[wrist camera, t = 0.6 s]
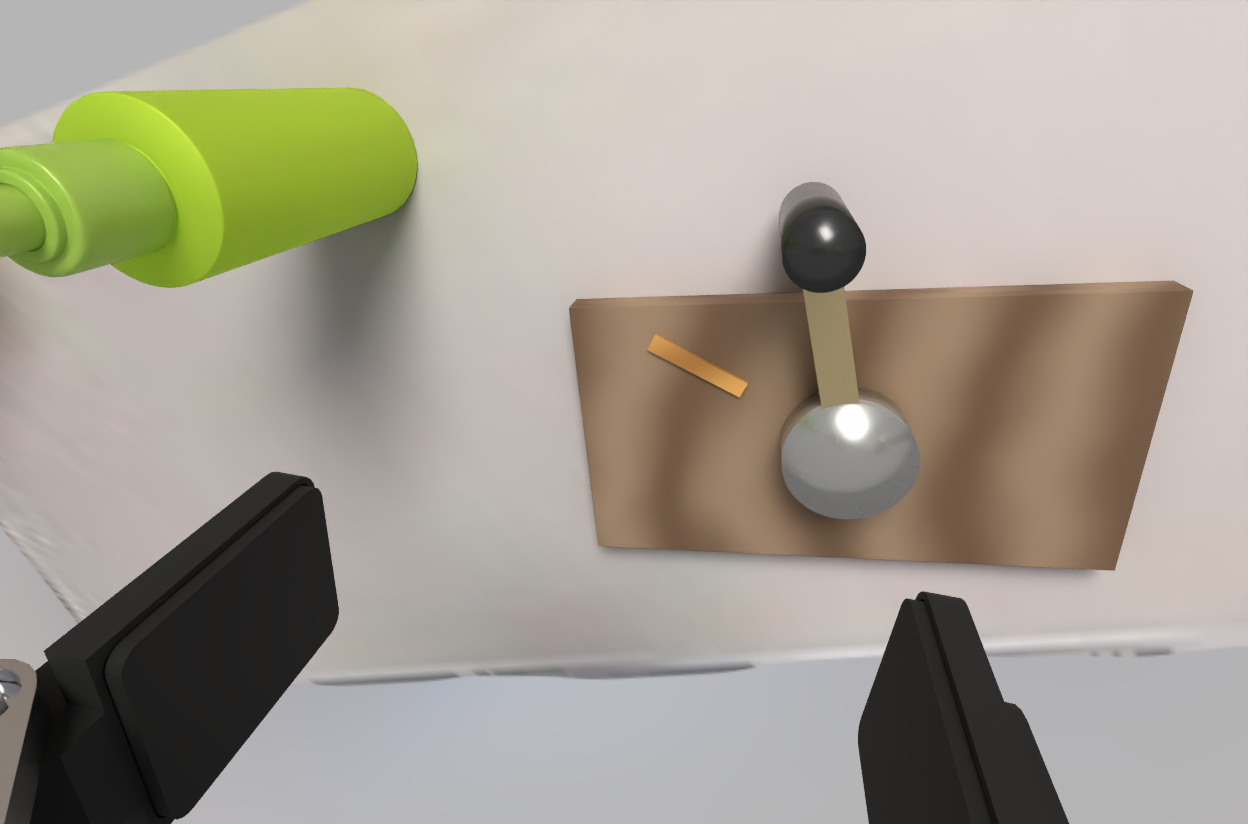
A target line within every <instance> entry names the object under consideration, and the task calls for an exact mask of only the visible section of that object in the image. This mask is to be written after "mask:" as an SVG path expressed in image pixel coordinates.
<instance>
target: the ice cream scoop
mask: <svg viewBox="0 0 1248 824" xmlns="http://www.w3.org/2000/svg"><path fill="white" fill-rule="evenodd" d="M779 222H780V234H781V246H782V258H783V265H784V268H785V271H786V273H787V275H788V276H789V278H790V279H791V280H792V281H793V282H794V283H795V284H796V285H797V286H799V287H800V288H802V289H803V294H804V300H805V306H806V313H807V319H808V325H809V332H810V338H811V344H812V351H813V357H814V363H815V369H816V376H817V382H818V388H819V392H818V393H816V394H814V395H812V396H810V397H809V398H807V399H806V400H804V401H803V402H802V403H801V404H799V405H798V406H797V407H796V408H795V409H794V410H793V412H792V413H791V414H790V416H789V417H788V419H787V421H786V423H785V425H784V428H783V431H782V436H781V465H782V473H783V477H784V480H785V483H786V485H787V487H788V489H789V490H790V492H791V493H792V494H793V496H794V497H795V498H796V499H797V500H798V501H799V502H800V503H801V504H803V505H804V506H805V507H807V508H808V509H810V510H812V511H814V512H816V513H818V514H821V515H824V516H827V517H831V518H837V519H861V518H867V517H870V516H874V515H877V514H879V513H882V512H884V511H886V510H888V509H890V508H891V507H893V506H894V505H896V504H897V503H898V502H900V501H901V500H902V499H903V498H904V497H905V496H906V495H907V494H908V492H909V491H910V490H911V488H912V487H913V485H914V483H915V481H916V479H917V476H918V472H919V467H920V453H919V448H918V445H917V442H916V440H915V437H914V435H913V432H912V430H911V427H910V425H909V423H908V420H907V418H906V417H905V415H904V413H903V412H902V410H901V409H900V408H899V407H898V406H897V405H896V404H895V403H894V402H893V401H892V400H890V399H889V398H887V397H886V396H884V395H882V394H880V393H878V392H876V391H873V390H870V389H866V388H861V387H857V380H856V372H855V365H854V357H853V350H852V342H851V335H850V327H849V320H848V312H847V305H846V298H845V290H844V286H846V285H847V284H848V283H850V282H851V281H852V280H853V279H854V278H855V277H856V276H857V274H858V273H859V271H860V270H861V268H862V266H863V263H864V260H865V256H866V243H865V239H864V236H863V234H862V232H861V230H860V228H859V227H858V225H857V223H856V222H855V220H854V218H853V217H852V215H851V214H850V212H849V210H848V209H847V207H846V206H845V204H844V202H843V201H842V199H841V198H840V196H839V195H838V193H837V192H836V191H835V190H834V189H833V188H832V187H830V186H828V185H826V184H824V183H820V182H809V183H805V184H802V185H799V186H797V187H796V188H794V189H793V190H792V191H791V192H790V193H789V194H788V195H787V196H786V197H785V199H784V201H783V202H782V205H781V208H780V212H779Z"/></svg>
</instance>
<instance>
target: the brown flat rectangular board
mask: <svg viewBox="0 0 1248 824" xmlns="http://www.w3.org/2000/svg"><path fill="white" fill-rule="evenodd" d="M1192 294H1193V290H1191V289H1189V288H1187V287H1185V286H1183V285H1181V284H1179V283H1177V282H1175V281H1152V282H1120V283H1088V284H1056V285H1023V286H991V287H959V288H927V289H895V290H862V291H845V298H846V305H847V312H848V320H849V327H850V335H851V342H852V350H853V357H854V365H855V372H856V380H857V387H861V388H866V389H870V390H873V391H876V392H878V393H880V394H882V395H884V396H886V397H887V398H889V399H890V400H892V401H893V402H894V403H895V404H896V405H897V406H898V407H899V408H900V409H901V410H902V412H903V413H904V415H905V417H906V418H907V420H908V423H909V425H910V427H911V430H912V432H913V435H914V437H915V440H916V442H917V445H918V448H919V453H920V467H919V472H918V476H917V479H916V481H915V483H914V485H913V487H912V488H911V490H910V491H909V492H908V494H907V495H906V496H905V497H904V498H903V499H902V500H901V501H900V502H898V503H897V504H896V505H894V506H893V507H891V508H890V509H888V510H886V511H884V512H882V513H879V514H877V515H874V516H870V517H867V518H861V519H837V518H831V517H827V516H824V515H821V514H818V513H816V512H814V511H812V510H810V509H808V508H807V507H805V506H804V505H803V504H801V503H800V502H799V501H798V500H797V499H796V498H795V497H794V496H793V494H792V493H791V492H790V490H789V489H788V487H787V485H786V483H785V480H784V477H783V473H782V465H781V436H782V431H783V428H784V425H785V423H786V421H787V419H788V417H789V416H790V414H791V413H792V412H793V410H794V409H795V408H796V407H797V406H798V405H799V404H801V403H802V402H803V401H804V400H806V399H807V398H809V397H810V396H812V395H814V394H816V393H818V392H819V388H818V382H817V376H816V369H815V363H814V357H813V351H812V344H811V338H810V332H809V325H808V319H807V313H806V306H805V300H804V294H803V292H798V293H766V294H734V295H702V296H669V297H637V298H605V299H577V300H576V301H575V302H574V303H573V304H572V305H571V307H570V308H569V313H570V321H571V329H572V337H573V345H574V353H575V361H576V369H577V377H578V385H579V393H580V401H581V409H582V417H583V425H584V433H585V441H586V449H587V457H588V465H589V473H590V481H591V489H592V497H593V505H594V513H595V521H596V529H597V537H598V545H599V546H610V547H631V548H652V549H673V550H694V551H715V552H736V553H757V554H778V555H799V556H820V557H841V558H862V559H883V560H904V561H925V562H946V563H967V564H988V565H1009V566H1030V567H1051V568H1072V569H1093V570H1114V571H1115V567H1116V564H1117V560H1118V557H1119V553H1120V550H1121V546H1122V542H1123V539H1124V535H1125V532H1126V528H1127V525H1128V521H1129V518H1130V514H1131V511H1132V507H1133V503H1134V500H1135V496H1136V493H1137V489H1138V486H1139V482H1140V479H1141V475H1142V471H1143V468H1144V464H1145V461H1146V457H1147V454H1148V450H1149V447H1150V443H1151V440H1152V436H1153V432H1154V429H1155V425H1156V422H1157V418H1158V415H1159V411H1160V408H1161V404H1162V401H1163V397H1164V393H1165V390H1166V386H1167V383H1168V379H1169V376H1170V372H1171V369H1172V365H1173V362H1174V358H1175V354H1176V351H1177V347H1178V344H1179V340H1180V337H1181V333H1182V330H1183V326H1184V323H1185V319H1186V315H1187V312H1188V308H1189V305H1190V301H1191V298H1192Z"/></svg>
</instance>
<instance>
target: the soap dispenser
mask: <svg viewBox="0 0 1248 824" xmlns="http://www.w3.org/2000/svg"><path fill="white" fill-rule="evenodd" d="M416 175H417V157H416V150H415V146H414V143H413V140H412V137H411V135H410V132H409V130H408V128H407V126H406V125H405V123H404V121H403V120H402V118H401V117H400V116H399V114H398V113H397V112H396V111H395V110H394V109H393V108H392V107H391V106H390V105H389V104H388V103H387V102H385V101H384V100H383V99H381V98H380V97H378V96H377V95H375V94H373V93H371V92H368V91H365V90H362V89H358V88H295V89H234V90H173V91H112V92H96V93H92V94H88V95H85V96H83V97H81V98H79V99H77V100H76V101H74V102H73V103H72V104H71V105H69V106H68V107H67V109H66V110H65V111H64V112H63V114H62V115H61V117H60V119H59V121H58V123H57V125H56V128H55V131H54V135H53V140H52V143H50V144H39V145H27V146H16V147H6V148H0V258H1V257H5V256H8V257H10V258H11V259H12V260H13V261H15V262H16V263H17V264H19V265H20V266H22V267H24V268H26V269H28V270H30V271H32V272H34V273H37V274H40V275H43V276H48V277H63V276H68V275H73V274H76V273H80V272H84V271H87V270H91V269H94V268H98V267H101V266H105V265H109V264H111V265H112V266H114V267H115V268H116V269H118V270H119V271H121V272H122V273H124V274H126V275H128V276H130V277H132V278H134V279H136V280H138V281H140V282H143V283H146V284H149V285H153V286H158V287H168V288H173V287H182V286H186V285H190V284H193V283H195V282H198V281H201V280H204V279H207V278H210V277H212V276H215V275H218V274H221V273H224V272H227V271H229V270H232V269H235V268H238V267H241V266H244V265H246V264H249V263H252V262H255V261H258V260H261V259H263V258H266V257H269V256H272V255H275V254H278V253H280V252H283V251H286V250H289V249H292V248H295V247H297V246H300V245H303V244H306V243H309V242H312V241H315V240H317V239H320V238H323V237H326V236H329V235H332V234H334V233H337V232H340V231H343V230H346V229H349V228H351V227H354V226H357V225H360V224H363V223H366V222H368V221H371V220H374V219H377V218H380V217H383V216H385V215H388V214H390V213H392V212H394V211H396V210H397V209H398V208H400V207H401V206H402V205H403V204H404V203H405V201H406V200H407V199H408V197H409V196H410V194H411V192H412V190H413V187H414V184H415V180H416Z"/></svg>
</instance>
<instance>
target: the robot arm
mask: <svg viewBox="0 0 1248 824" xmlns="http://www.w3.org/2000/svg"><path fill="white" fill-rule="evenodd" d="M338 615H339V607H338V600H337V593H336V587H335V580H334V573H333V566H332V560H331V553H330V546H329V539H328V533H327V526H326V519H325V512H324V506H323V499H322V494H321V492H320V490H319V489H317V488H315V487H314V484H313V482H312V481H311V479H309V478H307V477H303V476H297V475H292V474H286V473H281V472H271V473H270V474H268V475H266V476H265V477H264V478H262V479H261V480H260V481H259V482H257V483H256V484H255V485H254V486H252V487H251V488H250V489H248V490H247V491H246V492H245V493H243V494H242V495H241V496H240V497H238V498H237V499H236V500H235V501H233V502H232V503H231V504H229V505H228V506H227V507H226V508H224V509H223V510H222V511H221V512H219V513H218V514H217V515H216V516H214V517H213V518H212V519H210V520H209V521H208V522H207V523H205V524H204V525H203V526H202V527H200V528H199V529H198V530H197V531H195V532H194V533H193V534H191V535H190V536H189V537H188V538H186V539H185V540H184V541H183V542H181V543H180V544H179V545H177V546H176V547H175V548H174V549H172V550H171V551H170V552H169V553H167V554H166V555H165V556H164V557H162V558H161V559H160V560H158V561H157V562H156V563H155V564H153V565H152V566H151V567H150V568H148V569H147V570H146V571H145V572H143V573H142V574H141V575H139V576H138V577H137V578H136V579H134V580H133V581H132V582H131V583H129V584H128V585H127V586H126V587H124V588H123V589H122V590H120V591H119V592H118V593H117V594H115V595H114V596H113V597H112V598H110V599H109V600H108V601H107V602H105V603H104V604H103V605H101V606H100V607H99V608H98V609H96V610H95V611H94V612H93V613H91V614H90V615H89V616H88V617H86V618H85V619H84V620H82V621H81V622H80V623H79V624H77V625H76V626H75V627H74V628H72V629H71V630H70V631H68V632H67V633H66V634H65V635H63V636H62V637H61V638H60V639H58V640H57V641H56V642H55V643H53V644H52V645H51V646H50V647H48V648H47V649H46V650H45V651H44V652H45V655H46V657H47V659H48V661H47V662H46V663H45V664H43V665H42V666H41V667H40V668H38V669H37V670H36V671H34V669H33V668H32V667H31V666H30V665H29V664H27V663H24V662H21V661H19V660H16V659H0V824H171V823H172V822H173V820H174V819H179V818H182V817H184V816H185V815H187V814H188V813H189V812H190V811H191V810H192V808H194V806H195V805H196V804H197V802H198V801H199V800H200V799H201V797H202V796H203V795H204V793H205V792H206V791H207V790H208V789H209V787H210V786H211V785H212V783H213V782H214V781H215V779H216V778H217V777H218V776H219V775H220V773H221V772H222V771H223V769H224V768H225V767H226V766H227V764H228V763H229V762H230V761H231V759H232V758H233V756H235V754H236V753H237V752H238V750H239V749H240V748H241V746H242V745H243V744H244V743H245V742H246V740H247V739H248V738H249V737H250V735H251V734H252V733H253V731H254V730H255V729H256V728H257V726H258V725H259V724H260V722H261V721H262V720H263V719H264V718H265V716H266V715H267V714H268V712H269V711H270V710H271V709H272V707H273V706H274V705H275V704H276V702H277V701H278V700H279V698H280V697H281V696H282V694H283V693H284V692H285V691H286V690H287V688H288V687H289V686H290V685H291V683H292V682H293V681H294V679H295V678H296V677H297V676H298V674H299V673H300V672H301V671H302V669H303V668H304V667H305V666H306V664H307V663H308V662H309V660H310V659H311V658H312V657H313V655H314V654H315V653H316V652H317V650H318V649H319V648H320V646H321V645H322V644H323V643H324V641H325V640H326V639H327V638H328V636H329V635H330V634H331V632H332V631H333V629H334V627H335V625H336V623H337V620H338ZM858 746H859V754H860V762H861V769H862V776H863V783H864V790H865V798H866V805H867V812H868V819H869V824H1069V822H1068V820H1067V817H1066V815H1065V812H1064V810H1063V807H1062V805H1061V803H1060V800H1059V798H1058V795H1057V793H1056V790H1055V788H1054V785H1053V783H1052V780H1051V778H1050V775H1049V773H1048V771H1047V768H1046V766H1045V763H1044V761H1043V758H1042V756H1041V754H1040V751H1039V748H1038V746H1037V744H1036V741H1035V739H1034V736H1033V734H1032V731H1031V729H1030V726H1029V724H1028V722H1027V719H1026V718H1025V716H1024V714H1023V712H1022V710H1021V709H1020V708H1018V707H1017V706H1016V705H1015V704H1012V703H1007V702H1004V700H1003V698H1002V695H1001V692H1000V690H999V687H998V685H997V682H996V679H995V677H994V674H993V672H992V669H991V666H990V664H989V661H988V658H987V656H986V653H985V650H984V648H983V645H982V643H981V640H980V637H979V635H978V632H977V630H976V627H975V624H974V622H973V619H972V616H971V614H970V611H969V609H968V606H967V604H966V602H965V601H964V600H963V599H961V598H956V597H951V596H945V595H940V594H934V593H929V592H924V591H923V592H920V593H919V594H918V595H917V597H916V599H915V600H912V599H905V600H904V601H903V603H902V605H901V608H900V610H899V613H898V616H897V619H896V622H895V624H894V627H893V630H892V633H891V636H890V638H889V641H888V644H887V647H886V650H885V652H884V655H883V658H882V661H881V664H880V666H879V669H878V672H877V675H876V678H875V681H874V683H873V686H872V689H871V692H870V695H869V697H868V700H867V703H866V706H865V709H864V711H863V714H862V717H861V720H860V724H859V731H858Z"/></svg>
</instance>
